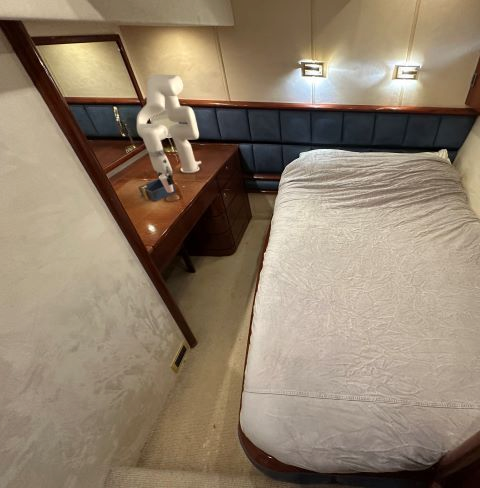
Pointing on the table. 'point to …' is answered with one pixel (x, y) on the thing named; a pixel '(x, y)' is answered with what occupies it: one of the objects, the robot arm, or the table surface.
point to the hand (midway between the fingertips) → (167, 182)
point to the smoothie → (166, 183)
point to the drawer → (154, 190)
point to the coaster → (172, 198)
